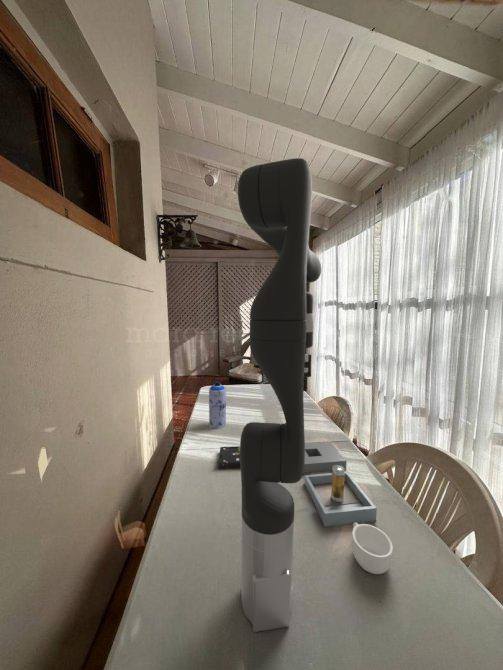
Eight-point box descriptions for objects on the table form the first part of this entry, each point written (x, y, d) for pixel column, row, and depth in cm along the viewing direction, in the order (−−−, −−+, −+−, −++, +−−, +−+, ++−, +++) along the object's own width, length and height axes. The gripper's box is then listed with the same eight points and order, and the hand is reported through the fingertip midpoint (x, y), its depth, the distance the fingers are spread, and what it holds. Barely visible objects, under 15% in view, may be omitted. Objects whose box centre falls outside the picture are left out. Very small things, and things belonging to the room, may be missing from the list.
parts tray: (376, 520, 65) (376, 508, 65) (324, 526, 64) (325, 513, 63) (346, 482, 80) (347, 471, 79) (304, 486, 78) (304, 475, 78)
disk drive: (218, 471, 86) (263, 469, 87) (218, 463, 86) (263, 461, 87) (220, 453, 96) (260, 451, 97) (219, 446, 96) (259, 444, 97)
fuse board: (346, 472, 85) (346, 460, 84) (292, 476, 82) (292, 465, 82) (329, 452, 97) (330, 441, 96) (282, 455, 94) (282, 445, 94)
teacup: (400, 577, 52) (402, 552, 51) (366, 586, 50) (368, 561, 50) (367, 534, 62) (368, 513, 61) (338, 541, 60) (339, 519, 59)
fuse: (345, 503, 70) (346, 471, 69) (334, 504, 70) (335, 472, 69) (339, 494, 73) (341, 464, 73) (329, 495, 73) (330, 465, 72)
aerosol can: (219, 430, 113) (218, 385, 111) (205, 426, 117) (204, 382, 115) (229, 423, 120) (229, 381, 118) (216, 419, 124) (216, 378, 122)
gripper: (322, 332, 66) (319, 394, 68) (304, 327, 80) (302, 379, 82) (293, 332, 65) (291, 395, 67) (280, 327, 79) (279, 379, 81)
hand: (297, 386), depth 74 cm, fingers open, 8 cm apart
